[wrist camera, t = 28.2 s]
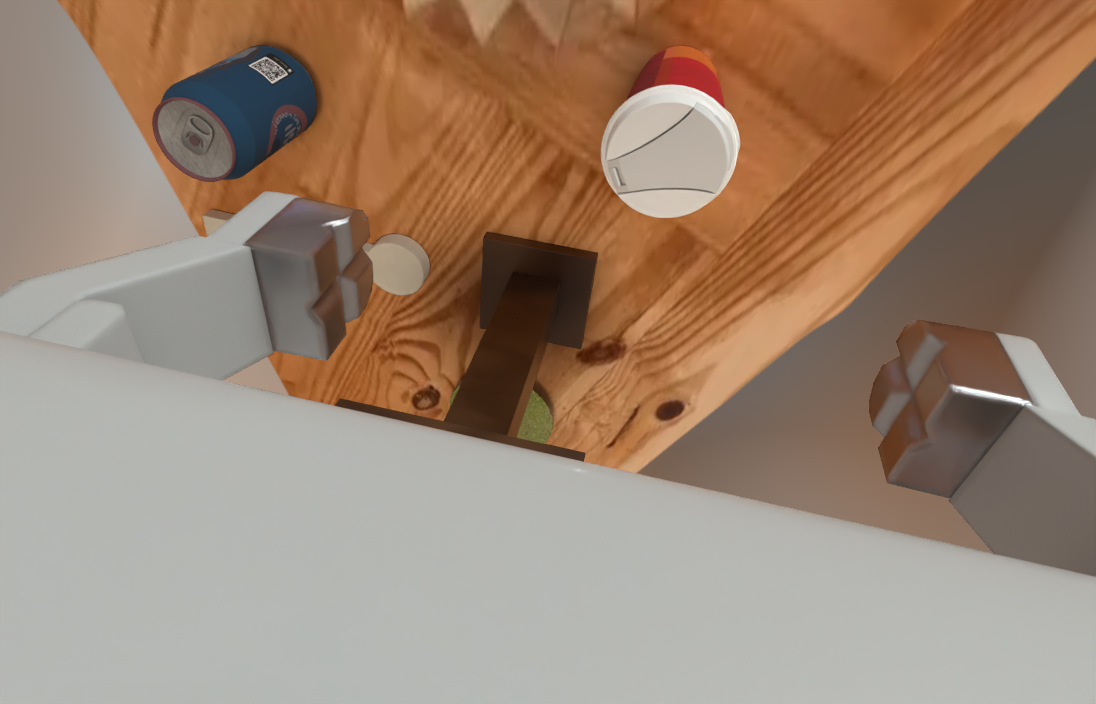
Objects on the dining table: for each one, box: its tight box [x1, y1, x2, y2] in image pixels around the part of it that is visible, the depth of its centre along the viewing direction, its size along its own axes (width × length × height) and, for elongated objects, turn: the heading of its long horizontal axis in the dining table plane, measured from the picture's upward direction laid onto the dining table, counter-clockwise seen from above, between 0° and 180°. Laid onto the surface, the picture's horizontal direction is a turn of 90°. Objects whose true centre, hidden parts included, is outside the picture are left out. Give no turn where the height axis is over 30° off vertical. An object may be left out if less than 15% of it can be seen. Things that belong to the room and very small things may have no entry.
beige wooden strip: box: [203, 209, 430, 295], centre depth 61 cm, size 22×6×2 cm, turn 83°
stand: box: [335, 232, 598, 462], centre depth 51 cm, size 15×12×25 cm
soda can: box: [152, 46, 317, 182], centre depth 48 cm, size 7×7×12 cm
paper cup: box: [601, 46, 740, 218], centre depth 42 cm, size 8×8×14 cm
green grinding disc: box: [450, 384, 553, 444], centre depth 70 cm, size 11×11×2 cm
